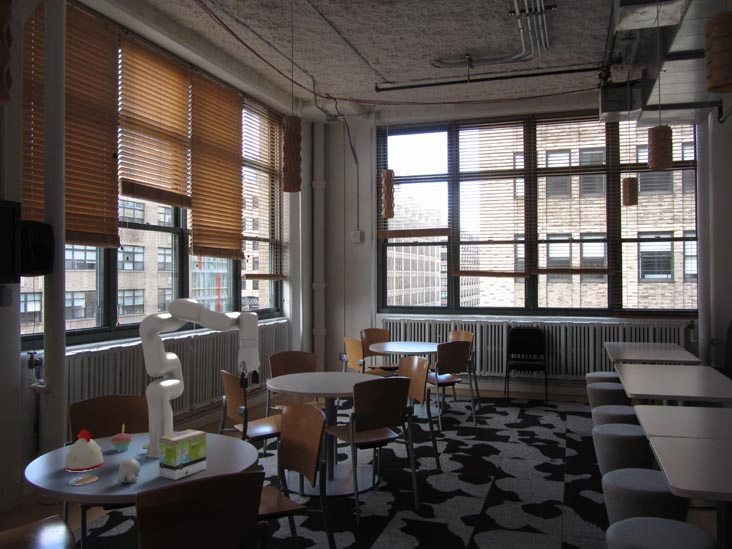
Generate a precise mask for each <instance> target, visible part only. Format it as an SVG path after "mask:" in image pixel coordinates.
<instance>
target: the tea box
mask: <svg viewBox="0 0 732 549" xmlns="http://www.w3.org/2000/svg"><path fill="white" fill-rule="evenodd" d="M158 463H159V464H158V475H159V476H160V477H163V478H166V479H169V480H178V479H180V478H183V477H186V476H189V475H193V474H196V473H199V472H202V471H205V470H207V432H206V431H201V430H195V429H191V428H190V429H186V430H183V431H178V432H175V433H174V432H173V434H171V435H167V436H163V437H160V438H159V458H158ZM204 469H205V470H204ZM201 470H202V471H201Z"/></svg>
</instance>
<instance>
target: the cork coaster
mask: <svg viewBox="0 0 732 549" xmlns="http://www.w3.org/2000/svg"><path fill="white" fill-rule="evenodd" d="M80 476H81V477H82V479H80V480H79V479H78V478H76V479H77V480H78V481H77V480H76V481H74V482H76V483H71V484H87V483H91V482H93V481H96V480H97V479H98V480H99V476H98V475H95V474H85V475H80ZM98 480H97V481H98ZM97 481H96V482H97ZM91 484H92V483H91ZM87 485H88V484H87Z"/></svg>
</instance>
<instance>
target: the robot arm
mask: <svg viewBox="0 0 732 549" xmlns="http://www.w3.org/2000/svg"><path fill="white" fill-rule="evenodd" d="M188 323H192V324H196V325H197V324H198V325H200V326H201V327H203V328H204V329H205V328H206V329H207V330H213V331H217V332H222V333H224V332H231V331H237V330H238V334H239V335H238V336H239V337H238V339H239V349H238V358H237V372H238V377H239V388H240V389H248V388H249V378H248V374H249V373H251V381H250V382H251V384H253V385H254V384H256V385H259V383H260V369H261V367H260V366H261V361H260V353H259V347H260V346H259V316H258V313H257V312H253V311H252V312H251V311H247V312H245V311H244V312H242V311H228V312H221V311H215V310H210V308H209V305H207V304H205V303H202V302H201V303H200V302H198V300H196V299H195V298H193V297H192V298H191V297H187V298H176V299H173V300H172V301H171V302H170V303H169V305H168V307H167V311H166V312H156V313H152V314H149V315H147V316H145V317H144V318H143V319H142V321H141V322H140V324H139V330H138V332H139V337H140V341H141V344H142V345H141V346H142V349H143V350H142V351H143V358H144V365H145V371H146V373H147V375H148V376H150V377H151V378H152V377H153V378H157V377H163V378H160V379H156V380H154V381H152V382H150V383H149V384H148V385H147V387H146V390H145V397H146V401H147V402H146V403H147V407H148V431H149V434H148V435H149V443H148V442H144V444H143V446H142V449H143V450H147V451H146V453H145V457H146V458H149V459H159V438H160V437H163V436H167V435H171V434H174V423H173V422H174V420H173V418H174V416H173V408H172V405H171V403H170V401H171V400H174V399H177V398H178V397H180V396H181V395H182V394H183V392H184V390H185V389H184V387H185V384H184V375H183V371H182V364H181V360H180V358H179V357H178V355H177V354H176V353H174V352H170V351H167V352H166V351H165V344H164V340H163V339H162V337H161V336H160V334H163V333H169V332H175V331H177V330H179V329H180V328H182V327H183V326H185V325H186V324H188Z"/></svg>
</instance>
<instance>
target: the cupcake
mask: <svg viewBox="0 0 732 549" xmlns="http://www.w3.org/2000/svg"><path fill="white" fill-rule="evenodd" d="M131 442H132V436H131V435H130V434H129V433H125V423H123V424H122V429H121V433H118V434H115V435H113V436H112V437H111V438H110V443H111V444H112V445H113V446H114V448H115V451H116V450H120V451H119V452H122V451H121V450H125V451H127V450H128V449H129V446H130V443H131ZM126 449H127V450H126Z"/></svg>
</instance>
